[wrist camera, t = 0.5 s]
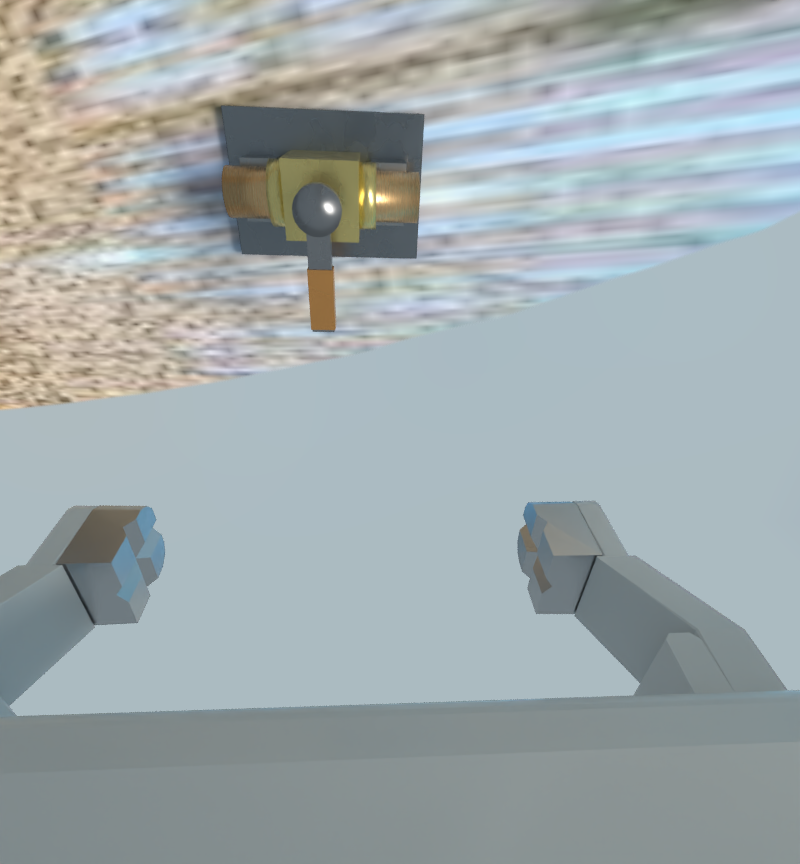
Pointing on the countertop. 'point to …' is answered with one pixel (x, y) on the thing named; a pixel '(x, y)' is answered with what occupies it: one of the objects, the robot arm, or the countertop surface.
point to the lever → (319, 248)
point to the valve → (324, 177)
